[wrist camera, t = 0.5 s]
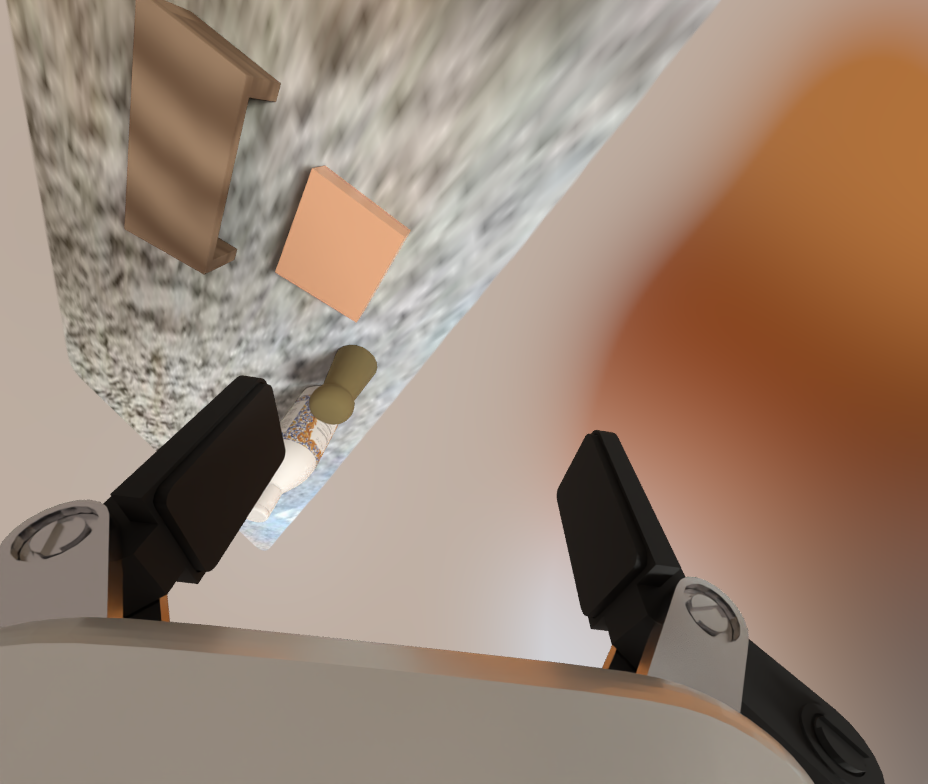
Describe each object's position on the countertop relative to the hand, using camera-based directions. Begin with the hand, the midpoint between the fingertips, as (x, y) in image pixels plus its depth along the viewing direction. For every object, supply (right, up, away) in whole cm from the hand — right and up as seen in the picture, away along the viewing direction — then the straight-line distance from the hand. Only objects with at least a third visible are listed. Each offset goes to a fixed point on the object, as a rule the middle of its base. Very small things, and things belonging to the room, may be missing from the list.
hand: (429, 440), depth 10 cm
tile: (-12, +18, +28) cm, 36 cm away
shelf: (-24, +25, +23) cm, 42 cm away
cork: (-14, +6, +38) cm, 41 cm away
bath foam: (-21, 0, +43) cm, 48 cm away
